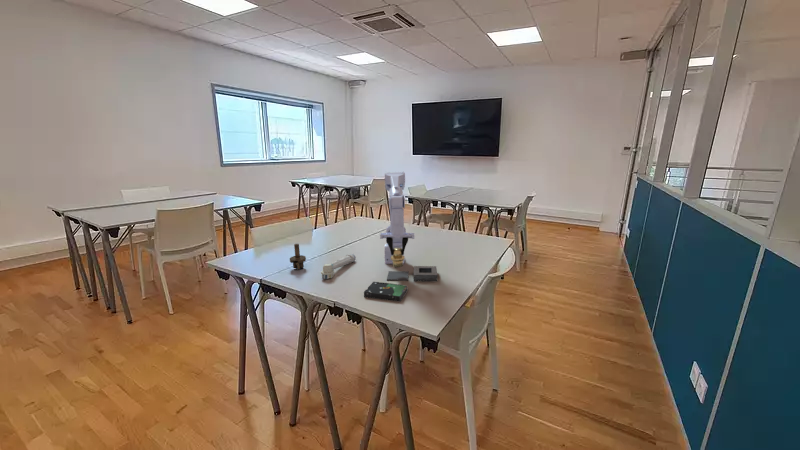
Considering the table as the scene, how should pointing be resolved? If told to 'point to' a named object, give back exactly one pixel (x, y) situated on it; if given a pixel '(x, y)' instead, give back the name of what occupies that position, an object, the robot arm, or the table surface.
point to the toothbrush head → (336, 265)
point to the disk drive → (386, 291)
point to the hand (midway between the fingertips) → (397, 254)
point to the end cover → (397, 257)
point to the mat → (397, 276)
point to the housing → (425, 273)
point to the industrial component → (297, 258)
